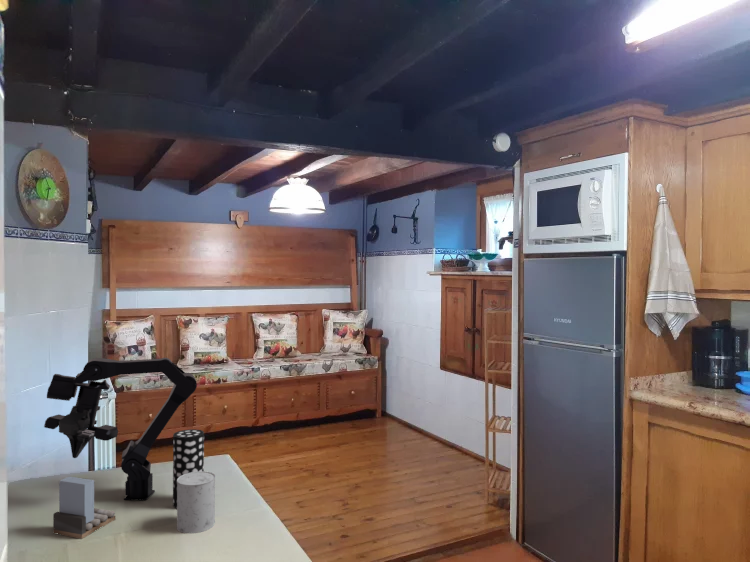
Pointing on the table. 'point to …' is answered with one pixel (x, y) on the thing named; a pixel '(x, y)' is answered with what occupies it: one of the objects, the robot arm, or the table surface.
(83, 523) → the roller track
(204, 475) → the speckled concrete cylinder
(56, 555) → the table surface
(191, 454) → the spotted tube
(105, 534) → the table surface
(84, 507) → the slab
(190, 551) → the table surface
